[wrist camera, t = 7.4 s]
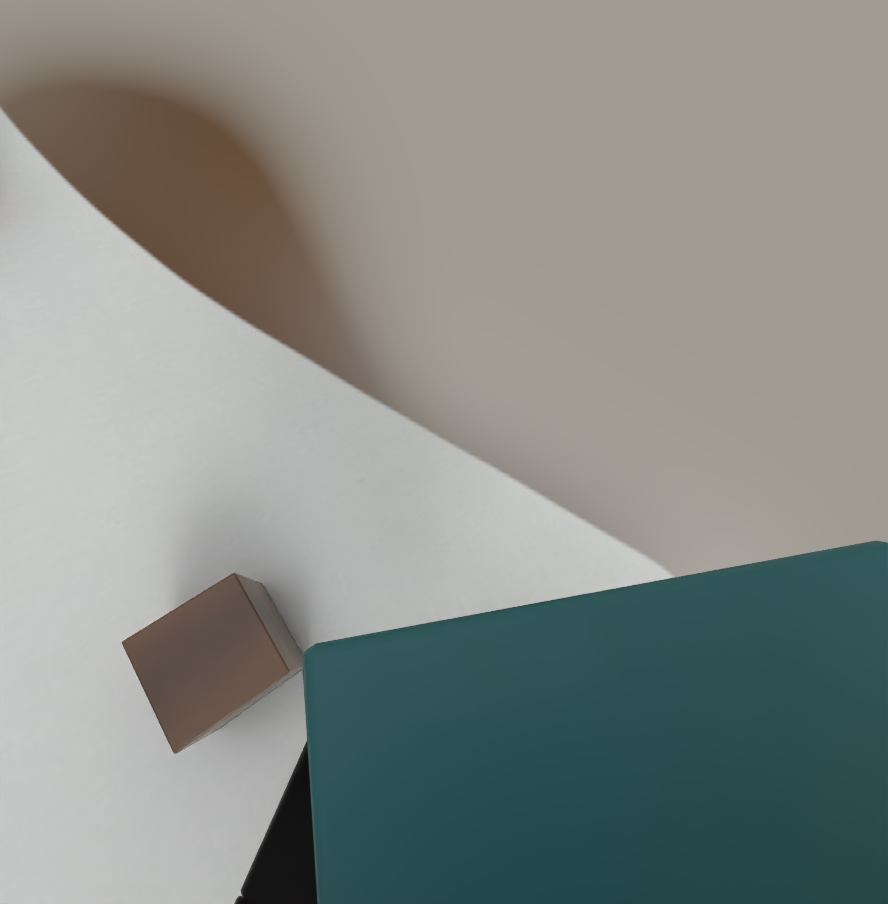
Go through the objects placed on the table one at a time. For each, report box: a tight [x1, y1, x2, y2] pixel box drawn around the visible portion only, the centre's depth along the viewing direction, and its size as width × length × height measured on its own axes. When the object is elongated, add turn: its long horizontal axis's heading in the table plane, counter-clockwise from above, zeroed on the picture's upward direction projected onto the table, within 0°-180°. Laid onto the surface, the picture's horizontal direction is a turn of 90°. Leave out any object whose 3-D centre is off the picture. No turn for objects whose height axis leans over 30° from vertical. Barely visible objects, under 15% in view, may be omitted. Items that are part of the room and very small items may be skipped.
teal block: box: [302, 541, 888, 904], centre depth 8 cm, size 4×4×13 cm
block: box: [122, 573, 304, 754], centre depth 17 cm, size 4×4×4 cm
